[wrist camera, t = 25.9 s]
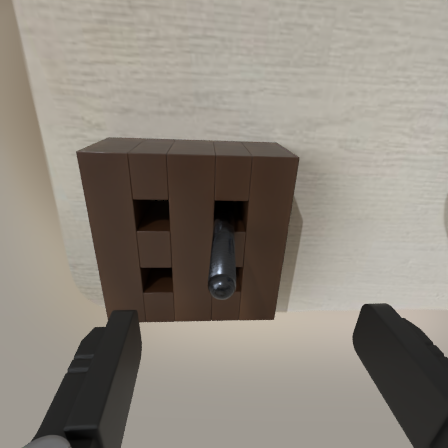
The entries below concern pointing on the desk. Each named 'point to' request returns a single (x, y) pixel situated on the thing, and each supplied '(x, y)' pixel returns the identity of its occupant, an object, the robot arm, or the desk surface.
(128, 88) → the desk surface
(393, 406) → the robot arm
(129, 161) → the pen holder
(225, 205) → the stylus
